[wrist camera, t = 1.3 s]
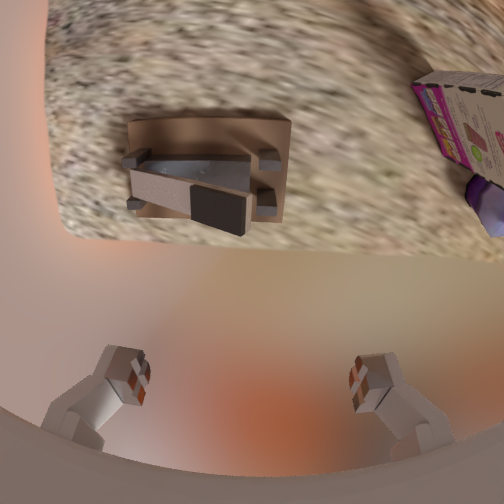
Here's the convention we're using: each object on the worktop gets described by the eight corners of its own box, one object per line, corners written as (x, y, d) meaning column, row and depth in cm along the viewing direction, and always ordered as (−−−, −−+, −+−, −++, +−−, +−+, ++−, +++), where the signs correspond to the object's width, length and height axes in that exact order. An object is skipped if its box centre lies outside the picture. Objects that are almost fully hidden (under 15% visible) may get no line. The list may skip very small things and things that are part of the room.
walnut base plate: (142, 210, 36) (136, 217, 34) (134, 119, 29) (127, 122, 27) (280, 215, 36) (281, 223, 34) (289, 119, 29) (291, 121, 28)
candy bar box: (466, 141, 28) (551, 187, 15) (442, 157, 30) (526, 211, 16) (434, 67, 24) (530, 78, 10) (408, 82, 25) (503, 96, 12)
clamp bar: (138, 194, 29) (128, 198, 28) (135, 167, 27) (125, 171, 26) (250, 229, 23) (240, 236, 22) (252, 194, 21) (242, 199, 20)
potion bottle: (491, 156, 29) (545, 188, 19) (496, 204, 33) (541, 242, 23) (453, 175, 31) (507, 213, 21) (460, 224, 35) (504, 269, 25)
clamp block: (142, 193, 32) (126, 211, 28) (138, 148, 29) (119, 160, 25) (274, 197, 32) (276, 216, 28) (277, 149, 29) (281, 161, 25)
